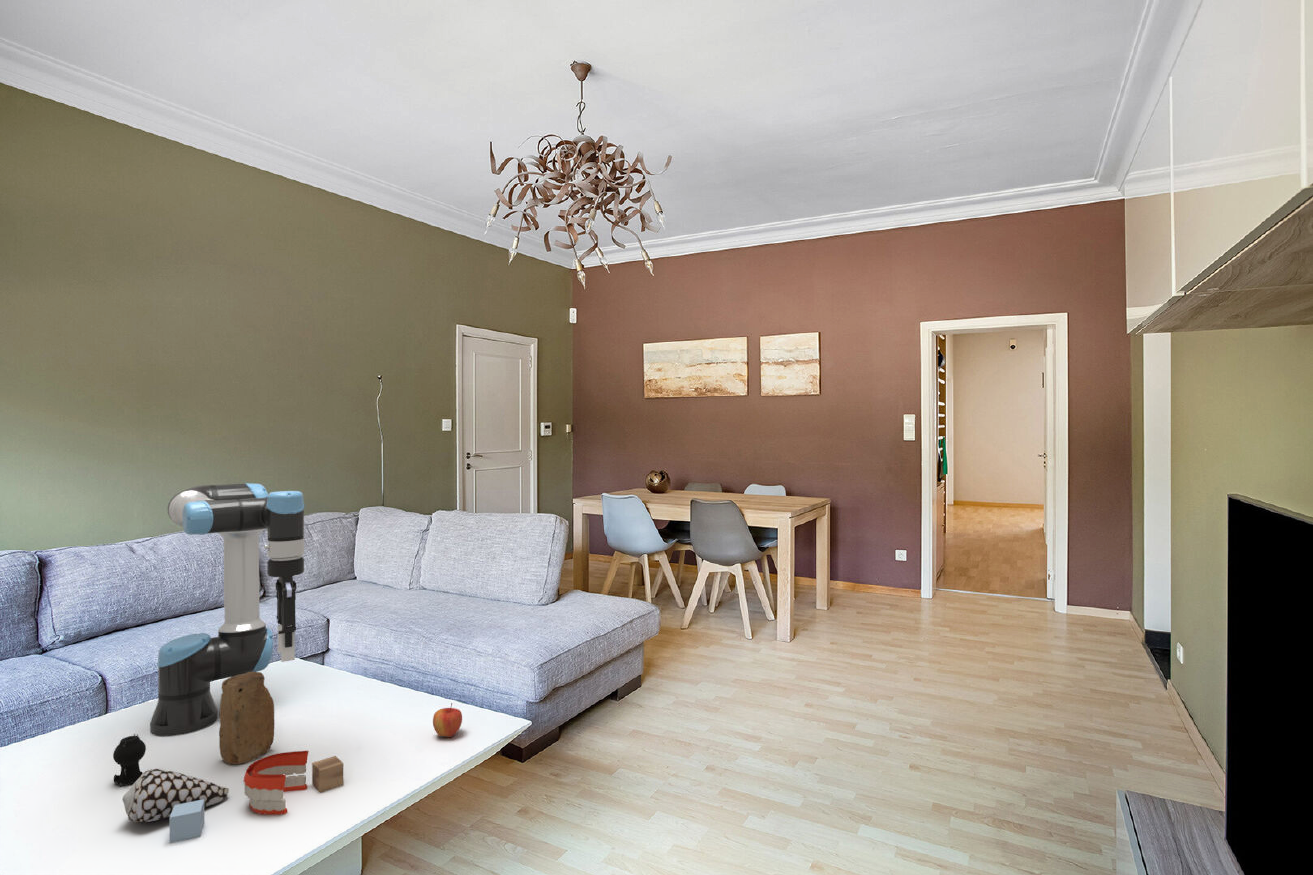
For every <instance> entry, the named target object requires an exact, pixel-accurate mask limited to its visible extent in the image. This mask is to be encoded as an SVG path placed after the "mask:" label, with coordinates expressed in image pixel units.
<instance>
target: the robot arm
mask: <svg viewBox="0 0 1313 875" xmlns="http://www.w3.org/2000/svg"><path fill="white" fill-rule="evenodd" d="M304 502H305V501H304V494H303V492H302V491H299V490H280V491H279V490H278V491H271V492H269V493H268V491H267V489H266V487H265V486H264V485H262V484H260V483H251V482H250V483H247V482H244V483H230V484H229V483H228V484H211V485H210V484H205V485H203V484H202V485H197V486H193V487H189V488H186V489H183V490H181V491H179V492H177V493H175V495H173V497H172V498H170V500H169V502H168V504H167V508H166V509H167V514H168V517H169V519H171V521H172V522H173V523H174V524H176V525H179V526H181V527H182V528H183V532H184V533H185V534H187V535H189V536H190V535H201V536H202V535H206V534H207V535H208V534H219V536H221V537H222V539H223V586H224V587H223V591H224V595H223V596H224V598H223V599H224V600H223V601H224V602H223V603H224V607H223V610H224V622H223V624H222V625H221V626H220V627H219V628H218V630H217V631H218V633H217V636H215V637H211V635H210V634H209V633H206V632H200V633H192V634H187V635H184V636H180V637H177V638H174V639H172V640H169V641H168V642H166V643H165V644H163V645H162V646H160V648H159V650H158V656H157V664H156V666H157V667H158V674H157V676H158V678H157V679H158V680H157V688H158V689H157V695H158V698H157V703H156V706H155V709H154V712H153V714H152V717H151V720H150V723H149V724H150V725H149V732H150V734H151V735H153V736H158V737H173V736H174V737H175V736H180V735H187V734H191V733H194V732H197V731H201V730H203V729H205V728H208V727H209V726H212V725H213V724H215V723H216V722H217V721H218V717H219V716H218V715H219V712H218V708H217V706H216V703H215V701H214V698H213V695H212V693H211V682H213V681H219V680H223V679H224V680H226V679H228V678H231V677H234V676H236V675H240V674H245V673H247V672H251V671H253V672H261V671H263V670H265V669H266V668H268V666H269V665H270V663H271V659H272V657H273V651H274V650H273V649H274V639H273V638H274V635H273V631H272V629H270V628H268V627H267V625H266V622H265V621H264V620H262V619H261V618H260V558H259V557H260V553H259V552H260V550H259V549H260V547H259V546H260V544H259V540H260V539H259V536H260V534H261V533H262V532H263V531H265V530H267V539H266V540H267V544H265V545H264V549H265V550H267V557H268V558H269V559H268V560H267V561H266V564H267V566H266V567H267V570H266V571H267V575H268V577H270V578H271V577H272V578H277V579H276V582H275V590H276V594H275V595H276V601H277V602H276V620H277V621H276V623H277V624H278V625H277V654H280V662H281V663H284V662H290V661H295V660H296V655H295V654H296V651H295V650H296V642H295V641H296V639H295V638H296V637H295V636H296V635H295V634H296V633H295V632H296V630H297V626H296V600H297V598H296V594H297V593H296V591H297V582H296V580H294V579H293V578H294V576H299V575H301V574H303V573H304V572H305V558H304V557H303V556H304V554H305V538H304V537H305V535H304V534H305V533H304V532H305V526H304V524H305V516H304V515H305V514H304V513H305V508H306V507H305V503H304Z"/></svg>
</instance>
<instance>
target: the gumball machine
mask: <svg viewBox="0 0 1313 875" xmlns="http://www.w3.org/2000/svg"><path fill="white" fill-rule="evenodd" d="M146 751H147V746H146V744H145V742H144V741H143V740H142V739H141V738H140V737H139V734H135V733H133V735H130V736H126V737H123V738H122V739H121V740H119V743H118V745H116V747H115V748H114V751H113V753H112V756H113V760H114V762H115V763H116V764H117V765H119V766H120V774H115V775H113V783H114V784H116V785H118V786H119V788H121V786H124V785H131V784H134V783H135V782H136V781H137V780H138V779H139V778H140V776H141V775H142V774H143V772H142V771H141V769H140V768H141V767H140V763H139V762H140V761H141V760H142V759H143V758H144V757H145V754H146Z"/></svg>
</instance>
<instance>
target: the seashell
mask: <svg viewBox="0 0 1313 875" xmlns="http://www.w3.org/2000/svg"><path fill="white" fill-rule="evenodd" d="M142 773H143V774H142V775H141V776H140V778H139V779H138V780H137V781H136V782H134V783H132V785H131V787H130V788H129V789H128V790H127V791H126V793H125V794H124V795H123V796H122V802H123V805H124V810H125V813H126V815H127V820H128V821H129V822H132V823H147V822H148V823H149V822H154V821H158V820H159V821H160V820H164V819H166V818H168V817H169V818H170V815H171V813H172V810H173V808H174V805H178V804H183V803H188V802H193V801H198V800H203V799H204V808H206V807H209V806H211V805H215V804H217V803H220V802H221V801H224V800H225V799H226V798H227V797H228V795H229V792H230V790H229V788H227V787H225V786H224V787H223V786H220V785H218V784H215V783H214V782H210V781H208V780H205V779H201V778H197V777H196V776H195V777H194V776H193V775H192V776H190V775H187V774H183V773H181V772H176V771H172V770H164V769H161V768H154V769H153V768H151V769H148V770H144V771H143V772H142Z"/></svg>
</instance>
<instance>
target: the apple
mask: <svg viewBox="0 0 1313 875" xmlns="http://www.w3.org/2000/svg"><path fill="white" fill-rule="evenodd" d="M452 706H453V703H452V702H451V705H450V707H444V708H443V707H442V708H440V709H438V710H436V711H435V712H434V714H433V717H432V725H433V730H434V731H435V733H436V734H437V735H438V737H440V736H443V737H447V738H452V737H454V736H455V735H456V734H457V733H458V731H459V730H460V728H461V726H462V722H463V714H462V711H461V710H460V709H458V708H456V707H452Z"/></svg>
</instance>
